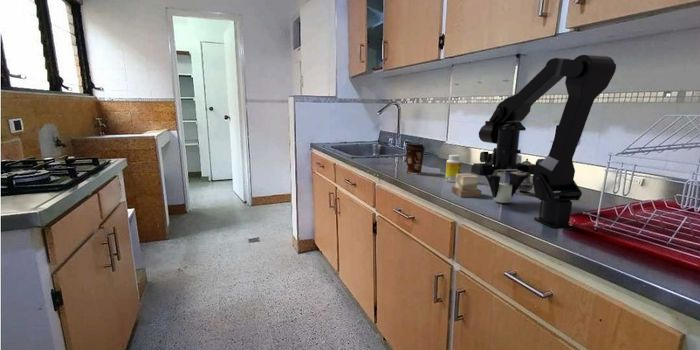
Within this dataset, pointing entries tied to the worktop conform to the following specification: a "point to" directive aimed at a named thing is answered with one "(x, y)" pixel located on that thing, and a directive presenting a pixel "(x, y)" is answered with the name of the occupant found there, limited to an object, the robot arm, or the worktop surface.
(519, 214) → the worktop surface
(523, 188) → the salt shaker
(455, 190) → the slab
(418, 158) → the coffee cup
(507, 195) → the pale green rounded block
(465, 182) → the cube
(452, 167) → the supplement bottle
